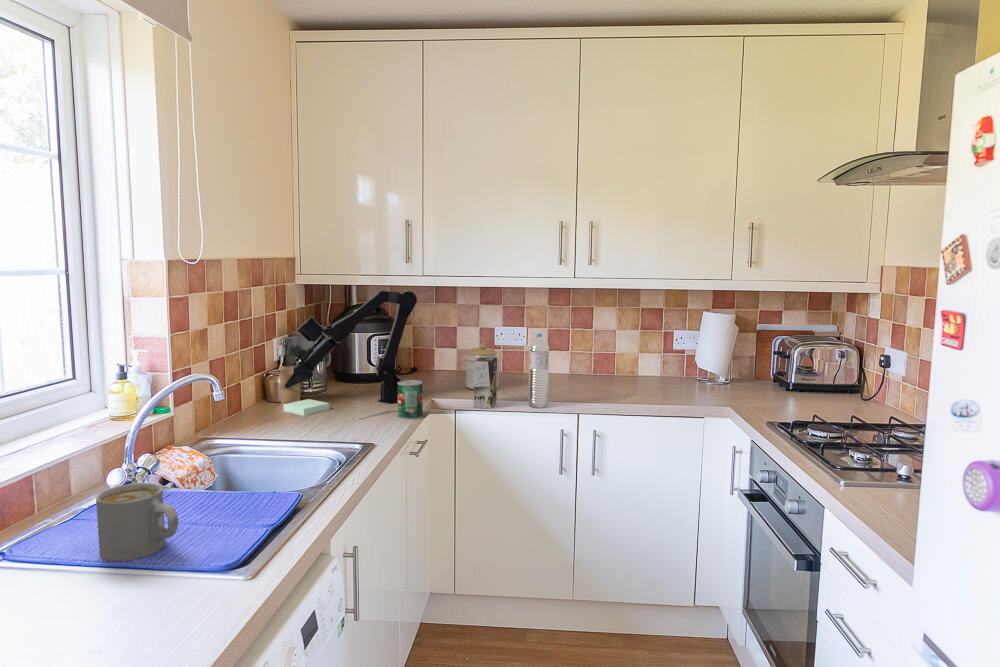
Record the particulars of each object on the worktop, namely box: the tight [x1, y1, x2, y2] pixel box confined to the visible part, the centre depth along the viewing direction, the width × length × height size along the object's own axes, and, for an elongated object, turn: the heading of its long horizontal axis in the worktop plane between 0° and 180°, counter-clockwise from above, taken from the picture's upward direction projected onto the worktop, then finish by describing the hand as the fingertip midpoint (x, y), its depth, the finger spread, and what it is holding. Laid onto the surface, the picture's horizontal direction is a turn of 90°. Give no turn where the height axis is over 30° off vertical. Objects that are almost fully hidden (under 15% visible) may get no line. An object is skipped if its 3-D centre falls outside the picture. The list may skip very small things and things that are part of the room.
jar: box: [465, 342, 500, 388], centre depth 253 cm, size 13×13×18 cm
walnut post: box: [279, 365, 301, 406], centre depth 219 cm, size 6×6×12 cm
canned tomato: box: [397, 379, 424, 420], centre depth 208 cm, size 8×8×11 cm
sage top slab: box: [282, 398, 330, 416], centre depth 209 cm, size 10×10×2 cm
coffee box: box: [473, 357, 498, 409], centre depth 224 cm, size 9×6×16 cm
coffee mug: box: [95, 482, 179, 562], centre depth 113 cm, size 13×10×10 cm
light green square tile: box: [281, 408, 332, 417], centre depth 210 cm, size 11×11×2 cm
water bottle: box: [527, 333, 550, 409], centre depth 224 cm, size 7×7×25 cm
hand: (285, 385), depth 219 cm, fingers closed on walnut post, 6 cm apart
